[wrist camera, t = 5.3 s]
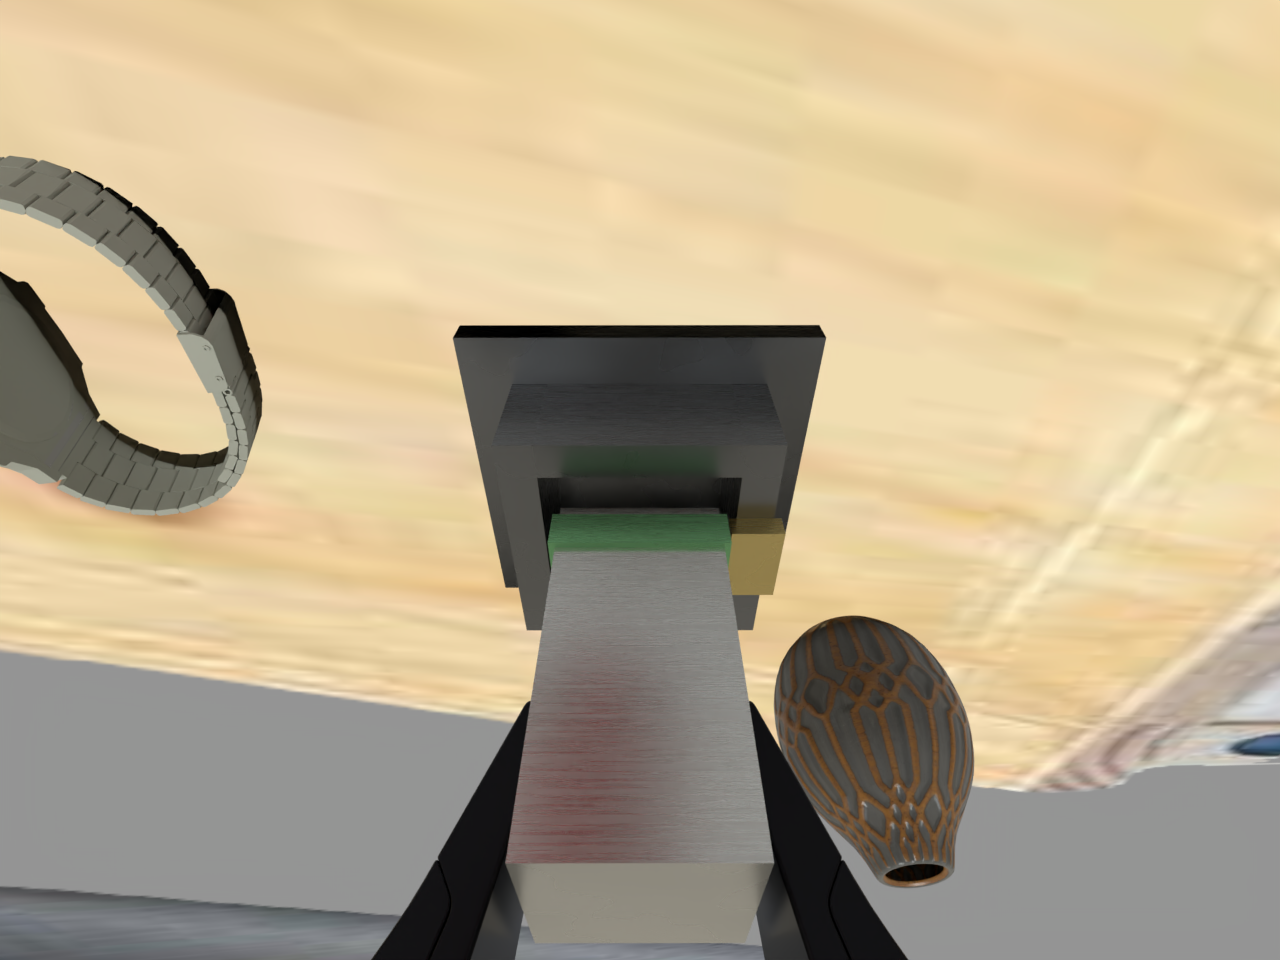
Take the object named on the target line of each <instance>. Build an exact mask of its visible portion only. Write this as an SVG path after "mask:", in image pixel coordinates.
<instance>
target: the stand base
mask: <svg viewBox="0 0 1280 960" xmlns="http://www.w3.org/2000/svg"><path fill="white" fill-rule="evenodd" d="M453 342H454V347H455V351H456V356H457V361H458V365H459V370H460V375H461V380H462V384H463V389H464V394H465V399H466V403H467V408H468V413H469V418H470V422H471V427H472V432H473V436H474V441H475V446H476V451H477V455H478V460H479V465H480V470H481V474H482V479H483V484H484V488H485V493H486V498H487V503H488V507H489V512H490V517H491V522H492V526H493V531H494V536H495V541H496V545H497V550H498V555H499V559H500V564H501V569H502V574H503V578H504V583H505V588H519V593H520V598H521V603H522V608H523V614H524V619H525V624H526V629H527V630H542V625H543V619H544V612H545V606H546V599H547V593H548V587H549V580H550V574H551V564H550V557H549V549H548V538H549V532H550V526H551V520H552V514H560V510H561V508H719V514H727V518H728V524H729V530H730V535H731V541H732V544H731V552H730V559H729V567H728V571H729V578H730V584H731V590H732V597H733V603H734V610H735V616H736V622H737V629H738V630H753V627H754V622H755V617H756V611H757V606H758V601H759V595H773V592H774V588H775V583H776V578H777V573H778V569H779V564H780V559H781V554H782V549H783V545H784V540H785V535H786V529H787V524H788V519H789V514H790V509H791V505H792V500H793V495H794V490H795V485H796V481H797V476H798V471H799V466H800V461H801V457H802V452H803V447H804V442H805V438H806V433H807V428H808V423H809V418H810V414H811V409H812V404H813V399H814V394H815V390H816V385H817V380H818V375H819V370H820V366H821V361H822V356H823V351H824V347H825V342H826V336H825V334H824V332H823V331H822V329H821V327H820V325H460V326H459V327H458V329H457V331H456V333H455V335H454V336H453Z"/></svg>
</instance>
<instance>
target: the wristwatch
mask: <svg viewBox="0 0 1280 960" xmlns="http://www.w3.org/2000/svg"><path fill="white" fill-rule="evenodd" d="M132 205H133V203H132V202H130V201H129V200H127V199H126V198H124V197H123V196H121V195H120V194H119V193H117V192H116V191H114V190H113V189H111V188H110V187H106V188H104V185H103V184H102V183H100V182H98V181H96V180H94V179H92V178H90V177H88V176H86V175H84V174H82V173H80V172H78V171H74V172H73V173H72V172H71V170H70V169H68V168H65V167H62V166H59V165H56V164H53V163H50V162H47V161H45V160H40V161H39V162H38V161H37V160H35V159H32V158H25V157H17V156H7V157H6V158H4V157H0V209H2V210H6V211H10V212H13V213H17V214H20V215H25V214H27V215H28V216H29V217H31V218H34V219H36V220H38V221H41V222H43V223H45V224H48V225H50V226H53V227H55V228H57V229H61V228H62V227H63V228H62V229H63V230H64V231H65V232H66V233H68V234H70V235H71V236H73V237H75V238H76V239H78V240H80V241H81V242H83V243H85V244H86V245H88V246H90V247H93V246H95V245H96V246H95V249H96V250H97V251H98V252H99V253H101V254H102V255H103V256H104V257H106V258H107V259H108V260H110V261H111V262H112V263H114V264H115V265H116V266H118V267H123V266H124V267H123V268H122V269H123V271H124V272H125V273H126V274H127V275H128V276H129V277H130V278H131V279H132V280H133V281H134V282H136V283H137V284H138V285H139V286H140V287H141V288H143V289H145V288H146V289H145V291H146V293H147V294H148V295H149V296H150V298H151V299H152V300H153V301H154V302H155V303H156V305H157V306H158V307H159V308H160V309H162V310H164V314H165V315H166V316H167V318H168V319H169V321H170V322H171V323H172V325H173V326H174V327H175V329H176V330H178V333H177V335H176V336H177V338H178V339H179V341H180V343H181V345H182V347H183V349H184V350H185V352H186V354H187V356H188V358H189V360H190V361H191V363H192V365H193V367H194V369H195V371H196V372H197V374H198V376H199V378H200V380H201V382H202V383H203V385H204V387H205V389H206V391H207V392H208V393H212V394H213V396H214V399H215V401H216V404H217V406H219V409H220V412H221V415H222V419H223V422H224V423H225V424H226V431H227V437H228V439H229V446H228V447H226V448H224V449H222V450H220V451H218V452H217V451H214V452H209V453H205V454H201V455H200V454H181V455H180V454H179V453H175V452H169V451H164V450H159V449H157V448H154V447H151V446H148V445H145V444H142V443H139V442H138V441H137V440H135V439H133V438H131V437H129V436H126V435H124V434H122V433H119V432H120V431H119V430H118V429H116V428H115V427H113V426H112V425H111V424H109V423H108V422H106V421H105V420H100V421H99V422H98V421H97V419H98V418H99V416H100V413H99V411H98V409H97V408H96V406H95V404H94V402H93V400H92V398H91V396H90V394H89V391H88V388H87V384H86V380H85V377H84V373H83V369H82V365H83V363H82V361H81V360H80V358H79V357H78V355H77V354H76V352H75V351H74V349H73V348H72V346H71V345H70V343H69V342H68V340H67V339H66V337H65V335H64V334H63V332H62V331H61V330H60V328H59V327H58V325H57V324H56V323H55V321H54V320H53V319H52V317H51V316H50V315H49V313H48V312H47V310H46V309H45V305H44V303H43V302H42V301H41V299H40V298H39V296H38V295H37V294H36V292H35V291H34V290H33V288H32V287H31V286H30V285H29V283H28V282H25V281H18V282H17V281H16V280H14V279H12V278H11V277H9V276H7V275H6V274H4V273H2V272H1V271H0V467H4V468H8V469H11V470H13V471H16V472H18V473H22V474H23V475H25V476H26V477H28V478H30V479H31V480H33V481H34V482H36V483H38V484H46V483H54V482H58V480H61V482H60V484H59V485H58V487H57V489H59V490H61V491H63V492H65V493H67V494H69V495H71V496H73V497H75V498H80V497H81V498H80V500H81V501H83V502H86V503H89V504H93V505H96V506H99V507H104V506H105V509H107V510H112V511H118V512H124V513H129V512H130V511H131V513H132V514H134V515H155V514H157V515H159V516H162V515H170V514H178V513H179V512H181V513H186V512H189V511H192V510H196V509H199V508H201V506H202V507H206V506H208V505H210V504H212V503H214V502H215V501H217V500H218V498H223V497H224V496H225V495H226V494H227V493H228V492H229V491H230V490H232V487H235V486H236V484H237V482H238V481H239V479H240V478H241V476H242V474H243V473H244V470H245V466H246V463H247V460H248V457H249V454H250V451H251V448H252V445H253V442H254V439H255V436H256V433H257V430H258V426H259V423H260V420H261V417H262V401H263V400H262V391H261V388H260V385H261V384H260V380H259V376H258V372H257V371H256V365H255V362H254V359H253V356H252V354H251V353H250V352H249V351H250V348H249V346H248V343H247V340H246V337H245V333H244V330H243V327H242V324H241V321H240V318H239V314H238V311H237V308H236V304H235V301H234V300H233V298H232V297H231V296H230V295H229V294H228V293H227V292H226V291H224V290H221V289H218V288H214V289H209V288H210V286H209V284H208V283H207V281H206V280H205V278H204V276H203V275H202V273H201V271H200V270H199V269H195V268H196V265H195V264H194V263H193V261H192V260H191V259H190V257H189V256H188V255H187V253H186V252H185V250H184V249H183V248H178V246H179V244H178V243H177V242H176V241H175V240H174V239H173V238H172V237H171V236H170V235H169V233H168V232H167V231H166V230H165V229H164V228H163V227H161V226H160V227H157V226H158V223H157V222H156V221H155V220H154V219H153V218H151V217H150V216H149V215H148V214H147V213H145V212H144V211H143V210H142V209H141V208H140V207H138V206H134V207H132Z"/></svg>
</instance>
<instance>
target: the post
mask: <svg viewBox="0 0 1280 960" xmlns="http://www.w3.org/2000/svg"><path fill="white" fill-rule="evenodd" d="M731 544H732V541H731V535H730V530H729V524H728V518H727V514H719V508H561V510H560V514H552V520H551V526H550V532H549V538H548V549H549V557H550V564H551V574H550V580H549V587H548V593H547V599H546V606H545V612H544V619H543V625H542V632H541V638H540V644H539V651H538V657H537V664H536V670H535V676H534V683H533V689H532V696H531V702H530V709H529V715H528V721H527V728H526V734H525V741H524V747H523V753H522V760H521V766H520V773H519V779H518V785H517V792H516V798H515V805H514V811H513V818H512V824H511V830H510V837H509V843H508V850H507V856H506V862H505V864H506V867H507V869H508V872H509V875H510V877H511V880H512V883H513V885H514V888H515V891H516V893H517V896H518V899H519V902H520V904H521V907H522V910H523V912H524V915H525V918H526V920H527V923H528V926H529V928H530V931H531V934H532V936H533V939H534V942H535V943H745V941H746V939H747V936H748V933H749V931H750V928H751V925H752V922H753V920H754V917H755V914H756V912H757V909H758V906H759V903H760V901H761V898H762V895H763V892H764V890H765V887H766V884H767V882H768V879H769V876H770V873H771V871H772V868H773V865H774V859H773V852H772V846H771V839H770V833H769V827H768V820H767V814H766V807H765V801H764V795H763V788H762V782H761V776H760V769H759V763H758V756H757V750H756V744H755V737H754V731H753V724H752V718H751V712H750V705H749V699H748V693H747V686H746V680H745V673H744V667H743V661H742V654H741V648H740V641H739V635H738V629H737V622H736V616H735V610H734V603H733V597H732V590H731V584H730V578H729V571H728V567H729V559H730V552H731Z"/></svg>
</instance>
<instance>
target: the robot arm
mask: <svg viewBox="0 0 1280 960" xmlns="http://www.w3.org/2000/svg"><path fill="white" fill-rule="evenodd" d="M530 702H531V701H528V702H527V703H526V704H525V705H524V707H523V709H522V710H521V712H520V714H519V716H518V717H517V719H516V721H515V722H514V724H513V726H512V728H511V729H510V731H509V733H508V735H507V736H506V738H505V740H504V742H503V743H502V745H501V747H500V749H499V750H498V752H497V754H496V756H495V757H494V759H493V761H492V763H491V764H490V766H489V768H488V770H487V771H486V773H485V775H484V776H483V778H482V780H481V782H480V783H479V785H478V787H477V789H476V790H475V792H474V794H473V796H472V797H471V799H470V801H469V803H468V804H467V806H466V808H465V810H464V811H463V813H462V815H461V817H460V818H459V820H458V822H457V824H456V825H455V827H454V829H453V830H452V832H451V834H450V836H449V837H448V839H447V841H446V843H445V844H444V846H443V848H442V850H441V851H440V853H439V855H438V860H435V862H434V863H433V865H432V867H431V868H430V870H429V872H428V874H427V875H426V877H425V879H424V881H423V882H422V884H421V885H420V887H419V889H418V890H417V892H416V894H415V895H414V897H413V899H412V900H411V902H410V904H409V905H408V907H407V908H406V910H405V911H404V913H403V914H402V916H401V917H400V919H399V920H398V922H397V923H396V925H395V926H394V927H393V929H392V930H391V932H390V933H389V935H388V936H387V938H386V939H385V940H384V942H383V943H382V945H381V946H380V948H379V949H378V950H377V952H376V953H375V955H374V956H373V957H372V959H371V960H515V956H516V951H517V946H518V940H519V935H520V930H521V924H522V919H523V914H524V912H523V910H522V907H521V904H520V902H519V899H518V896H517V893H516V891H515V888H514V885H513V883H512V880H511V877H510V875H509V872H508V869H507V867H506V864H505V862H506V856H507V850H508V843H509V837H510V830H511V824H512V818H513V811H514V805H515V798H516V792H517V785H518V779H519V773H520V766H521V760H522V753H523V747H524V741H525V734H526V728H527V721H528V715H529V709H530ZM749 705H750V712H751V718H752V724H753V731H754V737H755V744H756V750H757V756H758V763H759V769H760V776H761V782H762V788H763V795H764V801H765V807H766V814H767V820H768V827H769V833H770V839H771V846H772V852H773V859H774V865H773V868H772V871H771V873H770V876H769V879H768V882H767V884H766V887H765V890H764V892H763V895H762V898H761V901H760V903H759V906H758V909H757V912H756V916H757V921H758V926H759V932H760V937H761V943H762V948H763V953H764V959H765V960H908V958H907V957H906V955H905V954H904V953H903V951H902V950H901V948H900V947H899V945H898V944H897V943H896V941H895V940H894V938H893V937H892V936H891V934H890V933H889V931H888V930H887V928H886V927H885V925H884V924H883V922H882V921H881V919H880V918H879V916H878V915H877V913H876V912H875V910H874V909H873V907H872V906H871V904H870V903H869V901H868V899H867V898H866V896H865V895H864V893H863V891H862V890H861V888H860V886H859V885H858V883H857V881H856V880H855V878H854V876H853V875H852V873H851V871H850V869H849V868H848V866H847V864H846V862H845V861H844V860H841V859H842V856H841V854H840V852H839V850H838V849H837V847H836V845H835V843H834V842H833V840H832V838H831V837H830V835H829V833H828V831H827V830H826V828H825V826H824V824H823V823H822V821H821V819H820V817H819V816H818V814H817V812H816V810H815V809H814V807H813V805H812V803H811V802H810V800H809V798H808V796H807V795H806V793H805V791H804V789H803V788H802V786H801V784H800V782H799V781H798V779H797V777H796V775H795V774H794V772H793V770H792V769H791V767H790V765H789V763H788V762H787V760H786V758H785V756H784V755H783V753H782V751H781V749H780V748H779V746H778V744H777V742H776V741H775V739H774V737H773V735H772V734H771V732H770V730H769V728H768V727H767V725H766V723H765V721H764V720H763V718H762V716H761V714H760V713H759V711H758V709H757V707H756V706H755V704H754V703H753V702H751V701H749Z"/></svg>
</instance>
